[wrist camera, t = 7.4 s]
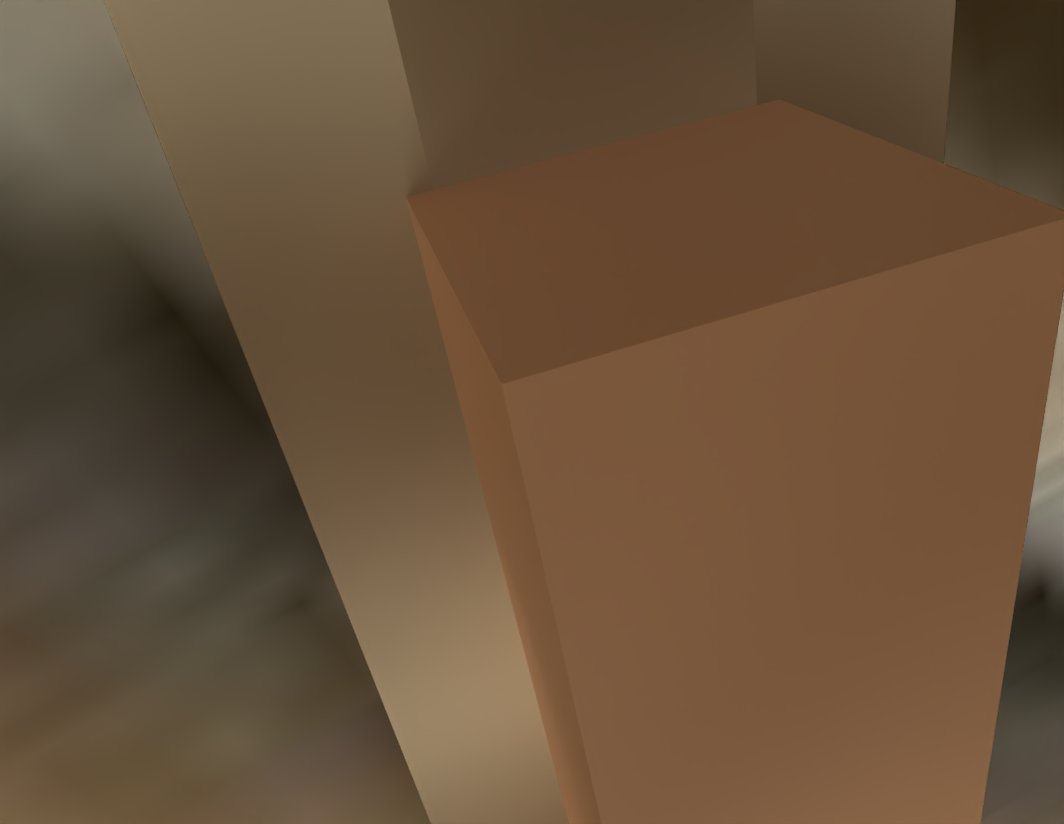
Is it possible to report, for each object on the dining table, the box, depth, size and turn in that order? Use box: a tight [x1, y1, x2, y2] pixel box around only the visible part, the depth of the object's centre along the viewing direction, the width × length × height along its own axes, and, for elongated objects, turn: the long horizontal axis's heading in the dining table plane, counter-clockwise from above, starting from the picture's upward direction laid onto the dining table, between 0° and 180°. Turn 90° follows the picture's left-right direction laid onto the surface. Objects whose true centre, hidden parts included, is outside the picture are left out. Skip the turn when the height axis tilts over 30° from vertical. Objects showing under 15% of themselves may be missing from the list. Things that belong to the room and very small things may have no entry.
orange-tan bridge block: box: [406, 99, 1064, 824], centre depth 9 cm, size 10×3×6 cm, turn 10°
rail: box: [104, 0, 956, 824], centre depth 13 cm, size 22×6×3 cm, turn 10°
